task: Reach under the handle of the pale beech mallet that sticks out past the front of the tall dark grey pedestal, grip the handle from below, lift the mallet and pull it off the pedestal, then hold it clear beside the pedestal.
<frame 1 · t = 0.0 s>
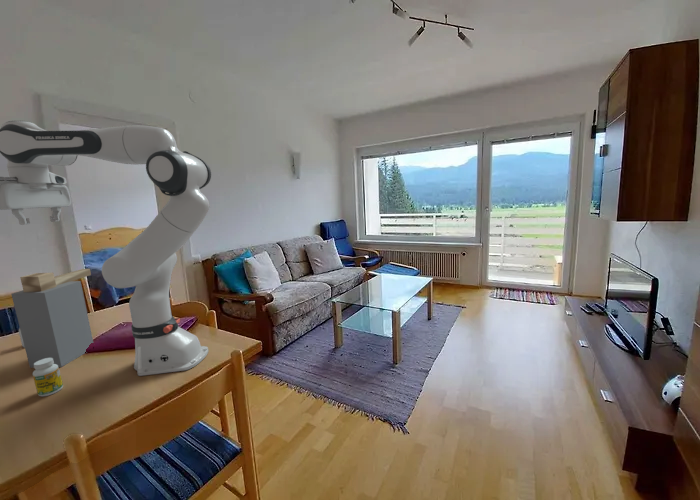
hand: (40, 222, 97), 48 cm above the table, tool pointing down, fingers open, 8 cm apart
mallet: (65, 281, 111), point 26 cm above the table, touching pedestal
pedestal: (64, 357, 109), on the table
supplement bottle: (51, 391, 90), on the table
eye dropper bottle: (32, 344, 120), on the table
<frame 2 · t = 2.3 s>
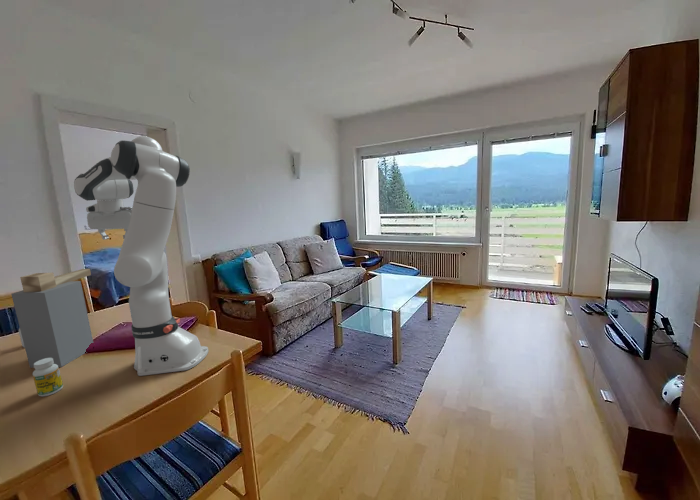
hand: (116, 239, 134), 38 cm above the table, tool pointing down, fingers open, 8 cm apart
nothing on the table moved.
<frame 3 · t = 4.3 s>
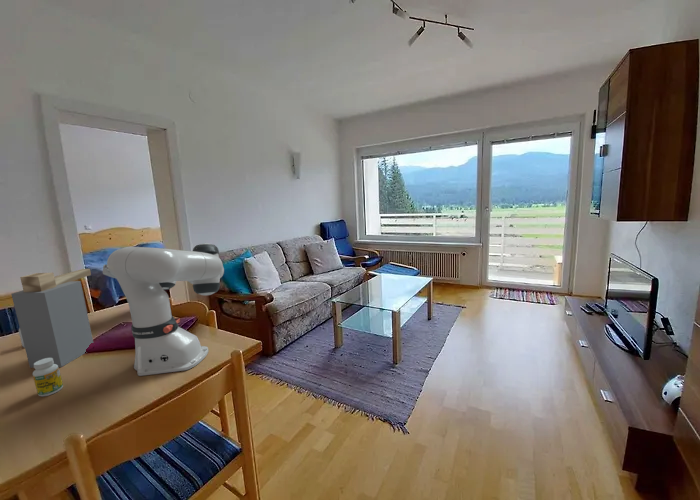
hand: (115, 265, 133), 26 cm above the table, tool pointing upward, fingers open, 8 cm apart
nothing on the table moved.
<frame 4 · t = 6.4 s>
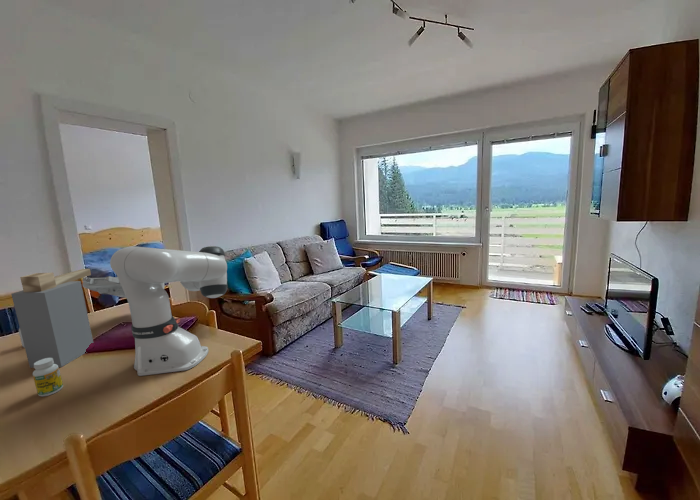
hand: (95, 278, 124), 23 cm above the table, tool pointing upward, fingers open, 8 cm apart
nothing on the table moved.
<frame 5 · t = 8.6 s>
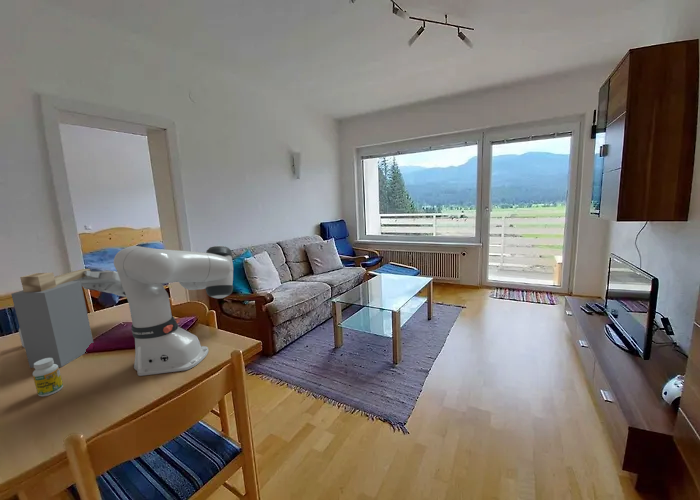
hand: (79, 272, 116), 28 cm above the table, tool pointing upward, fingers closed on mallet, 3 cm apart
mallet: (65, 281, 111), point 26 cm above the table, touching gripper, pedestal
everything else where it was.
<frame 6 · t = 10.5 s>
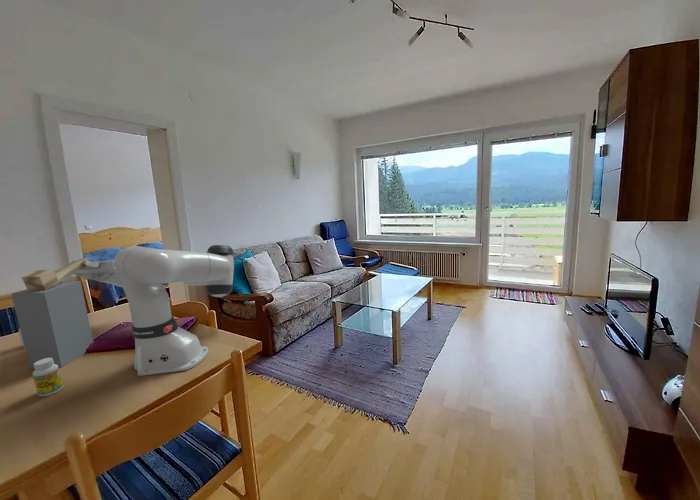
hand: (78, 262, 116), 32 cm above the table, tool pointing upward, fingers closed on mallet, 3 cm apart
mallet: (67, 274, 112), point 28 cm above the table, tilted 12°, touching gripper
everything else where it was.
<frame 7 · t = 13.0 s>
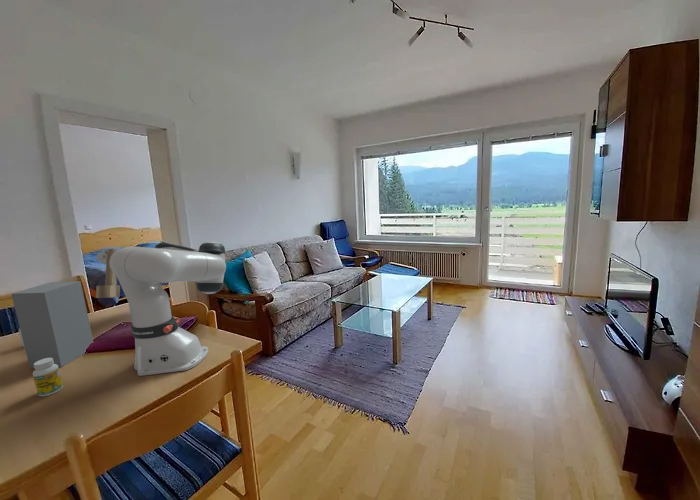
hand: (109, 251, 131), 33 cm above the table, tool pointing upward, fingers closed on mallet, 3 cm apart
mallet: (114, 270, 133), point 25 cm above the table, tilted 73°, touching gripper
everything else where it was.
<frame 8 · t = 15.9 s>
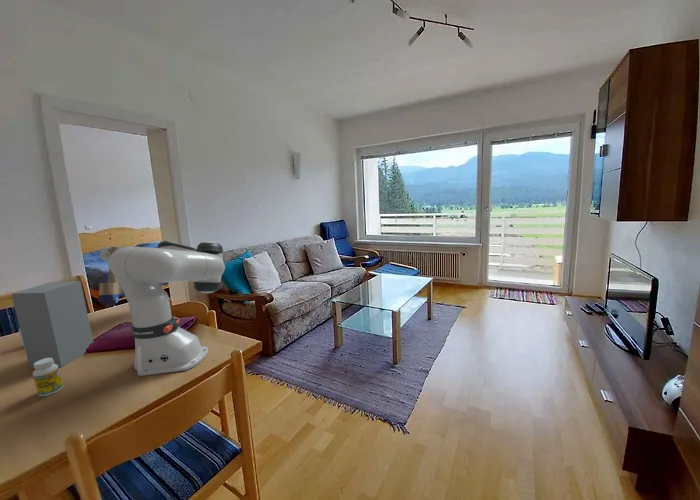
hand: (112, 249, 132), 33 cm above the table, tool pointing upward, fingers closed on mallet, 3 cm apart
mallet: (117, 267, 134), point 25 cm above the table, tilted 73°, touching gripper
everything else where it was.
at the end: the gripper is holding mallet; mallet touching gripper; mallet inside the target area (6.8 cm from its centre), point 25.2 cm above the table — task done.
